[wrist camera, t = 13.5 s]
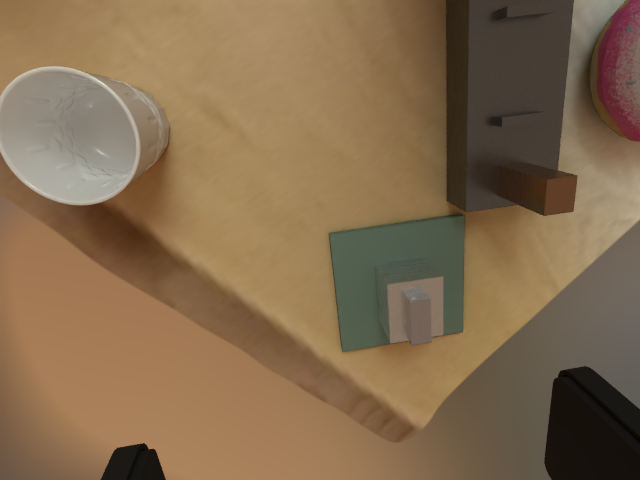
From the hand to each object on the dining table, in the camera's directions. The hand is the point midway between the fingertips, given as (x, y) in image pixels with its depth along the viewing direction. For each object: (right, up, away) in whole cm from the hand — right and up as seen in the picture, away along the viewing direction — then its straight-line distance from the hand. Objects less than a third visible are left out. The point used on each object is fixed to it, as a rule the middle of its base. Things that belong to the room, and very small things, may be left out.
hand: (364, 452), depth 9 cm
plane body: (+14, +19, +25) cm, 34 cm away
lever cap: (+7, 0, +30) cm, 31 cm away
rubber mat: (+7, 0, +31) cm, 32 cm away
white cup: (-17, +14, +23) cm, 32 cm away
